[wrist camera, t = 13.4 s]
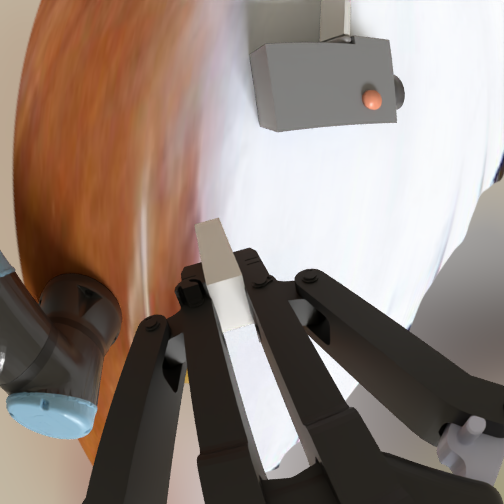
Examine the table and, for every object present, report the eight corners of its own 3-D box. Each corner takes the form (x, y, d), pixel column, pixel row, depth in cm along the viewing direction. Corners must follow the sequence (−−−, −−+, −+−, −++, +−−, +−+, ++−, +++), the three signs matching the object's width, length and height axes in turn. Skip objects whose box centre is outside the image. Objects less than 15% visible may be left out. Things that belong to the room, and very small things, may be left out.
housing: (260, 126, 37) (279, 133, 30) (248, 47, 32) (265, 33, 24) (378, 116, 39) (415, 123, 32) (371, 47, 34) (408, 42, 26)
